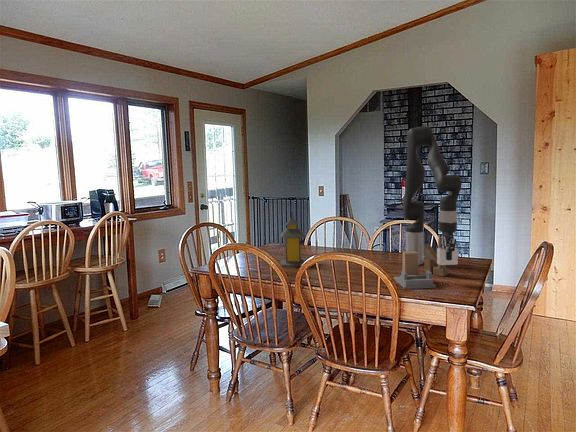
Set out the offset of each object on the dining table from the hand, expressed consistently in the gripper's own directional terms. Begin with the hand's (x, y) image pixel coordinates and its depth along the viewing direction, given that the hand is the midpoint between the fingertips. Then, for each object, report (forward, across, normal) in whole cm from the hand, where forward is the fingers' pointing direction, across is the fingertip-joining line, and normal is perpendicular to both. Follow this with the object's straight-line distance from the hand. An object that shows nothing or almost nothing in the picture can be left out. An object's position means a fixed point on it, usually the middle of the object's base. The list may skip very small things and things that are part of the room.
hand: (447, 258), depth 197 cm
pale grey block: (+2, 0, 0) cm, 2 cm away
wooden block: (+12, -17, +1) cm, 20 cm away
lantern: (+12, -50, -67) cm, 84 cm away
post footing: (+11, -2, -14) cm, 18 cm away
